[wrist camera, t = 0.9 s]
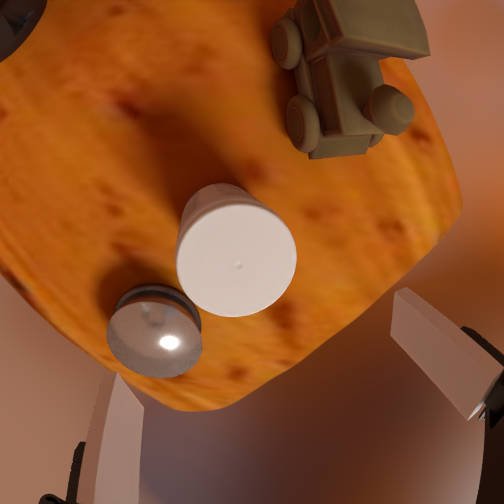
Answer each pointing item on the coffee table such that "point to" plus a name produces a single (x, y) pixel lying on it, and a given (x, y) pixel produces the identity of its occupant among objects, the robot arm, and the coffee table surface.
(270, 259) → the supplement tub
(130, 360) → the duct stub
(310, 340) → the coffee table surface
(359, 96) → the wooden toy train
